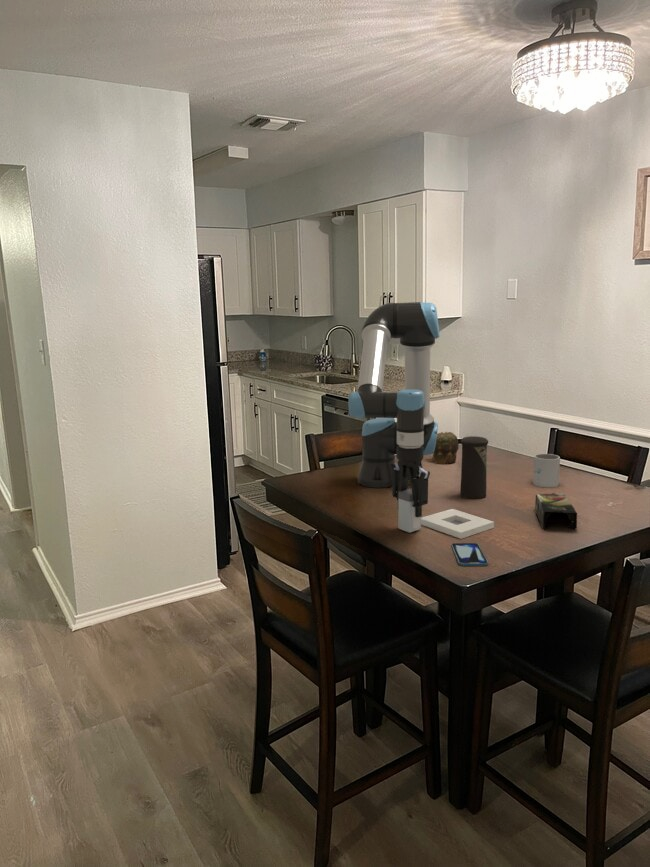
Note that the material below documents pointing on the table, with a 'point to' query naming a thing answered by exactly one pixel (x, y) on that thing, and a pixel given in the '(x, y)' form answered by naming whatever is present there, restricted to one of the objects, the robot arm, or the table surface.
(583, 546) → the table surface
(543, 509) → the juice carton
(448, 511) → the socket
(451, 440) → the brown rounded lump
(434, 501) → the table surface
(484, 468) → the container
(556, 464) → the mug
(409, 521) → the plug
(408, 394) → the robot arm
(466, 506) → the table surface
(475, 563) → the smartphone
